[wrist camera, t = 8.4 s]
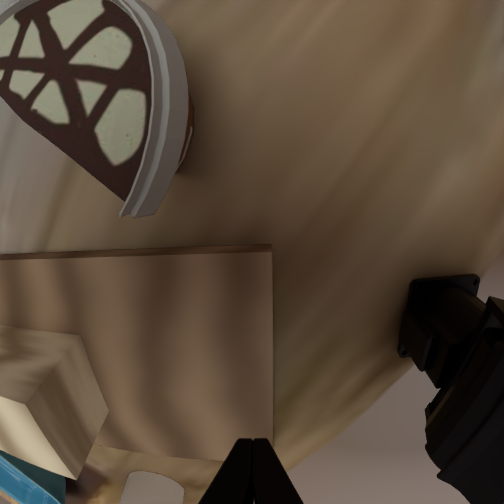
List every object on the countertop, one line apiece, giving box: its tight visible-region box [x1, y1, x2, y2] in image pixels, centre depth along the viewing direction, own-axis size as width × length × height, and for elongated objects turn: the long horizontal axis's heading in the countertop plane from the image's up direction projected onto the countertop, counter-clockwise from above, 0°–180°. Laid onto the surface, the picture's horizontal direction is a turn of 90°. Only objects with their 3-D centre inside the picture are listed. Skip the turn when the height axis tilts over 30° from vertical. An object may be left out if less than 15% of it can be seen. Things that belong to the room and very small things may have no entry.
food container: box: [0, 0, 194, 218], centre depth 12 cm, size 12×6×10 cm, turn 51°
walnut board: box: [0, 244, 273, 460], centre depth 22 cm, size 29×20×2 cm
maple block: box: [0, 325, 109, 480], centre depth 18 cm, size 12×8×8 cm, turn 92°
